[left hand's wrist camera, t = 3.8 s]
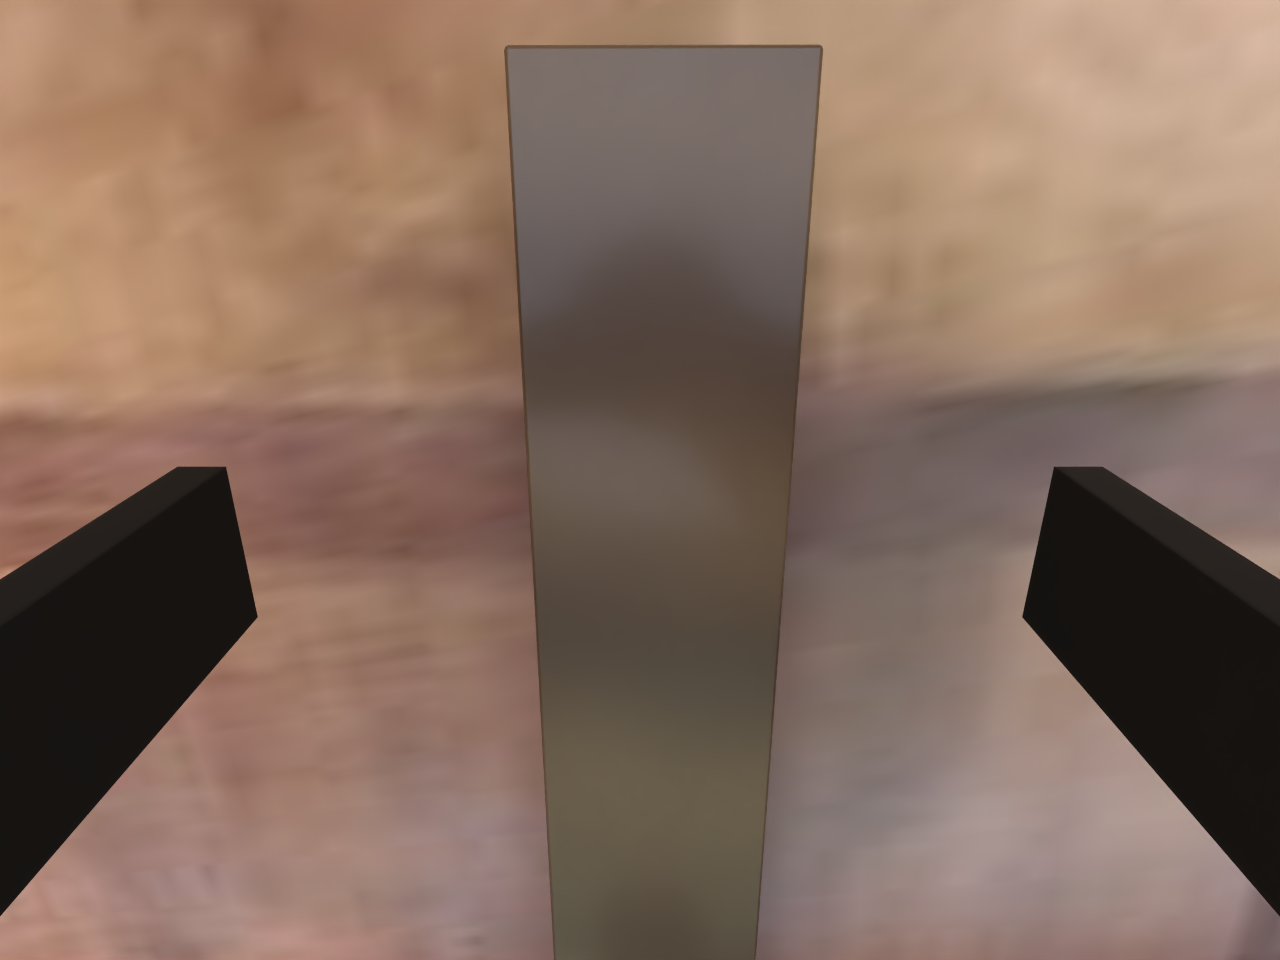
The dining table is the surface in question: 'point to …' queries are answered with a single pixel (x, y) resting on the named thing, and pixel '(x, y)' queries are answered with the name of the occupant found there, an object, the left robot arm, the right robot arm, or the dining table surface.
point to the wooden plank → (659, 467)
